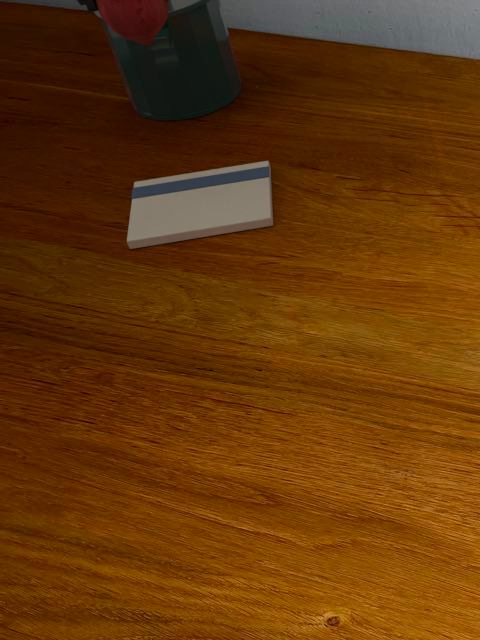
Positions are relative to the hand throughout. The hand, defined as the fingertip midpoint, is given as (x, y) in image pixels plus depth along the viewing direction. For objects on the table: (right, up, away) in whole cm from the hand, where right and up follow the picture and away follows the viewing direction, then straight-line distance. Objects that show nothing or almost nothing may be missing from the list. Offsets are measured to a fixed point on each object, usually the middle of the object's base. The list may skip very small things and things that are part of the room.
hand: (132, 1), depth 89 cm
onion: (0, -3, +3) cm, 4 cm away
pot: (-1, 0, +18) cm, 18 cm away
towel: (+5, -16, +3) cm, 17 cm away
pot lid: (-2, +6, +11) cm, 13 cm away
